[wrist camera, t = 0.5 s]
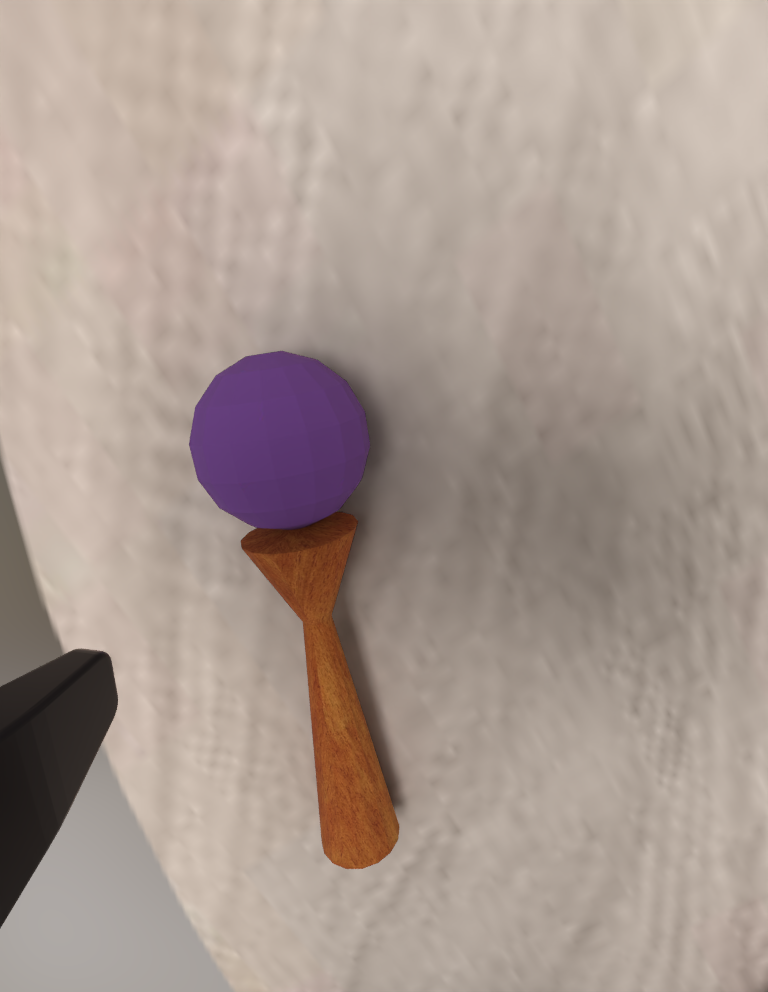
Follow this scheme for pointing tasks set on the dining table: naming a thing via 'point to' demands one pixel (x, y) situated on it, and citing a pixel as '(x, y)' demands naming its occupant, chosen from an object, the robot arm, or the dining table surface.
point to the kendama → (303, 556)
